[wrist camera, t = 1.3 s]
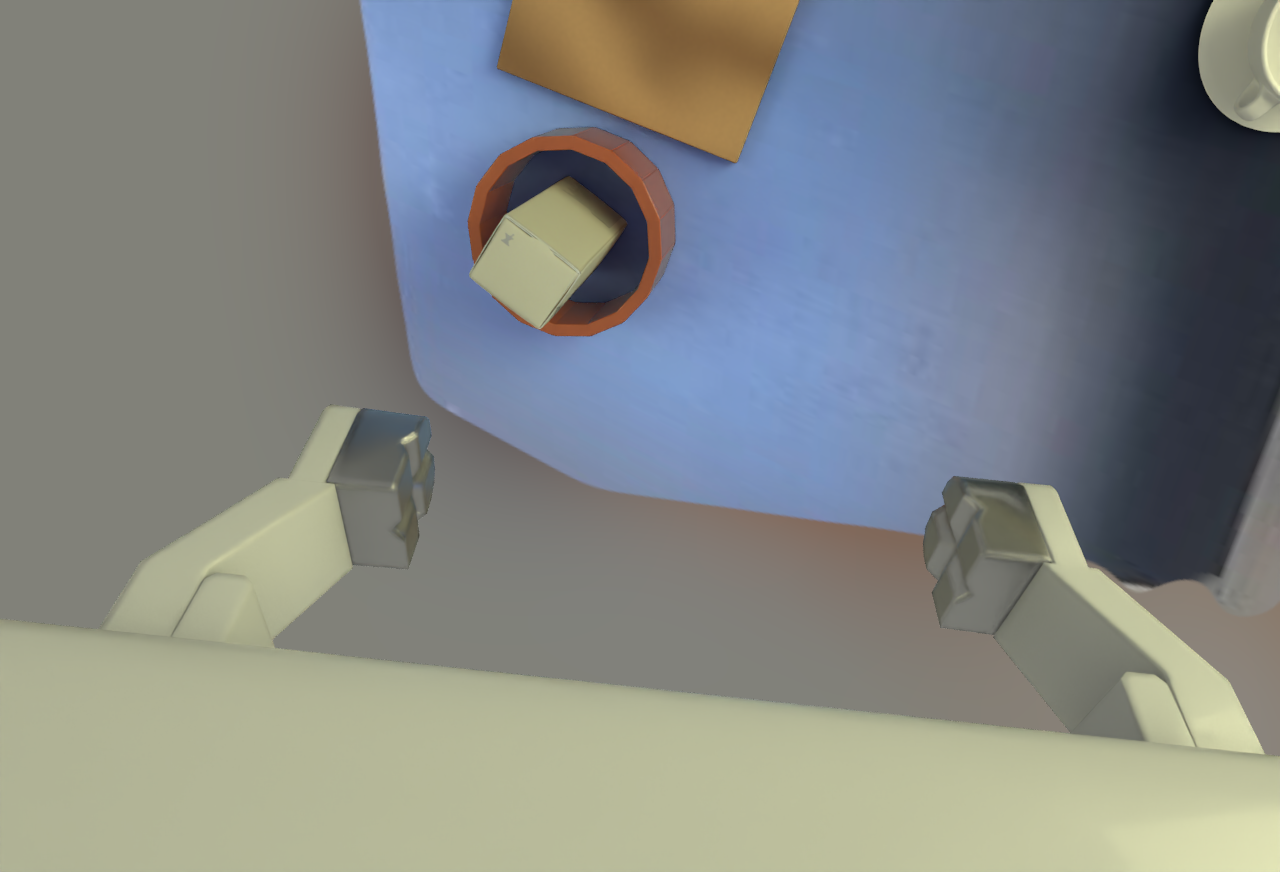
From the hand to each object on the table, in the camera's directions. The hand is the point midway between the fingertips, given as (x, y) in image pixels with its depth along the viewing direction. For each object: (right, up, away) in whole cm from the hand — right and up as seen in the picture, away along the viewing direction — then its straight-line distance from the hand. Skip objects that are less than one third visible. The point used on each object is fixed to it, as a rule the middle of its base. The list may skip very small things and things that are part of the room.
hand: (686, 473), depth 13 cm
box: (-4, +15, +43) cm, 46 cm away
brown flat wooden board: (0, +26, +36) cm, 45 cm away
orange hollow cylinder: (-4, +15, +43) cm, 45 cm away
